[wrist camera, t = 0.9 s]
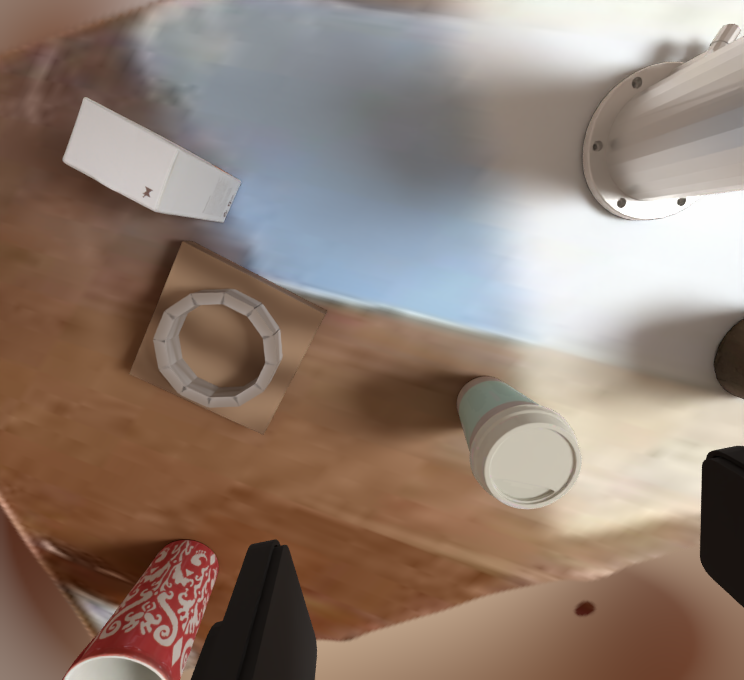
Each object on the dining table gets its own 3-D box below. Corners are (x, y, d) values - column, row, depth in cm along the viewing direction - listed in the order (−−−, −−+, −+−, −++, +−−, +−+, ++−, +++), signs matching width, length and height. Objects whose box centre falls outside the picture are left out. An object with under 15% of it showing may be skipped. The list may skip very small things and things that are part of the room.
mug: (203, 520, 43) (134, 642, 30) (241, 579, 45) (192, 716, 32) (107, 557, 44) (-1, 691, 31) (148, 613, 46) (64, 760, 33)
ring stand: (192, 241, 35) (168, 241, 31) (327, 310, 37) (322, 320, 33) (140, 367, 38) (112, 383, 34) (268, 425, 40) (256, 448, 36)
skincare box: (243, 180, 34) (181, 149, 22) (224, 224, 35) (155, 215, 23) (179, 144, 33) (81, 92, 22) (161, 189, 34) (58, 163, 22)
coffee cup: (427, 402, 40) (453, 468, 28) (488, 347, 39) (542, 392, 27) (479, 452, 42) (524, 534, 30) (540, 401, 40) (612, 466, 29)
